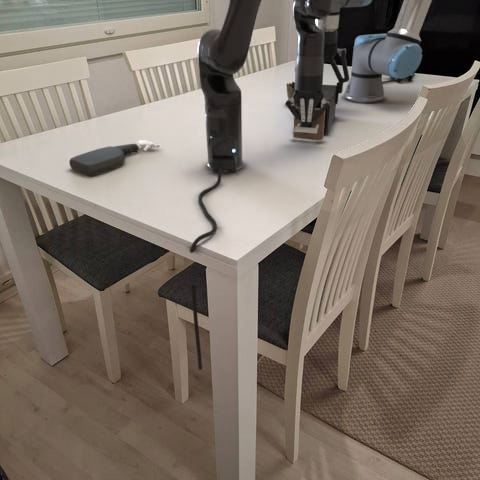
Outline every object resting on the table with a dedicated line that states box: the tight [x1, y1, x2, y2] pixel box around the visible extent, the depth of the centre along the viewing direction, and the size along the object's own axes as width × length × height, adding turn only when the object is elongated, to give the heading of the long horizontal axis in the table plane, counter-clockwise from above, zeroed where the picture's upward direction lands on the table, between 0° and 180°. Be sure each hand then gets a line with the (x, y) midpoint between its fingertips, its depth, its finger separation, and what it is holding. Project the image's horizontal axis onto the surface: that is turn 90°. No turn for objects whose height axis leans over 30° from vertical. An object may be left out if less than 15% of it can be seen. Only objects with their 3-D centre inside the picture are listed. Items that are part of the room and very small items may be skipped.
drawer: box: [292, 102, 327, 141], centre depth 137 cm, size 24×9×9 cm, turn 163°
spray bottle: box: [68, 139, 160, 177], centre depth 124 cm, size 3×11×24 cm
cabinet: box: [297, 84, 337, 136], centre depth 146 cm, size 20×10×11 cm, turn 163°
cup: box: [286, 81, 297, 107], centre depth 165 cm, size 8×7×8 cm
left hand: (306, 133), depth 130 cm, fingers closed
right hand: (320, 102), depth 151 cm, fingers closed on cabinet, 10 cm apart
